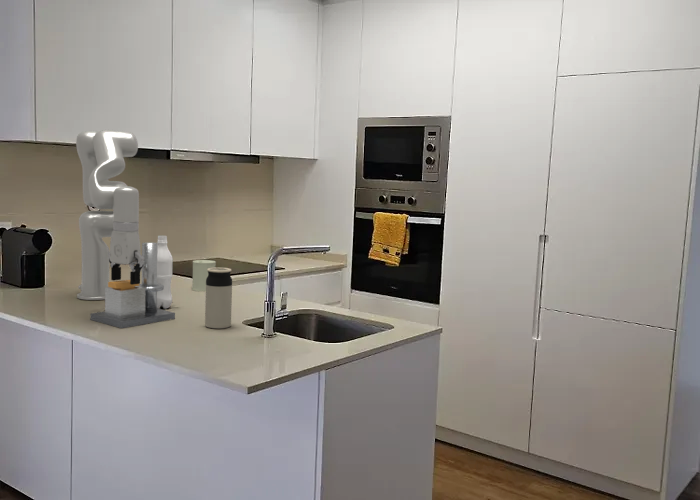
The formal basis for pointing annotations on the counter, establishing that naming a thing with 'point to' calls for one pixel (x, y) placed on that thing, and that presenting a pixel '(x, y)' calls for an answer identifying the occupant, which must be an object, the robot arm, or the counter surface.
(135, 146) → the robot arm
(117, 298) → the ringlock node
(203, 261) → the can
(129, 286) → the orange upright block
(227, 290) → the travel mug
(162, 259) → the water bottle
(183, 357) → the counter surface
